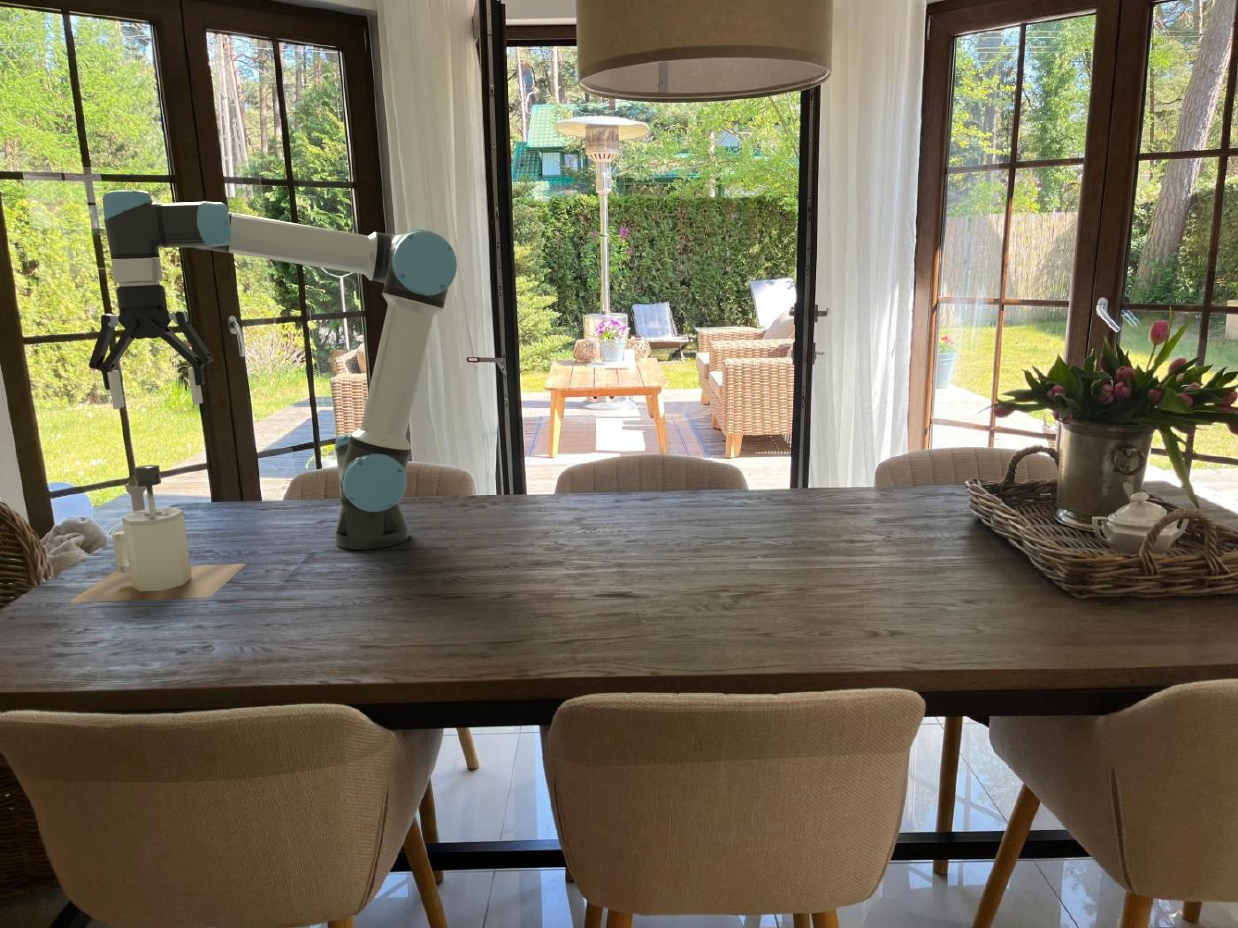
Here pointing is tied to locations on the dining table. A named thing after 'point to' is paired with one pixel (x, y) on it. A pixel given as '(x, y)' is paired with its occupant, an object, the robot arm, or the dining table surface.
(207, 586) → the board
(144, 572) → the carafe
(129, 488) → the potion bottle
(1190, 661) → the dining table surface
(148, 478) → the plunger
